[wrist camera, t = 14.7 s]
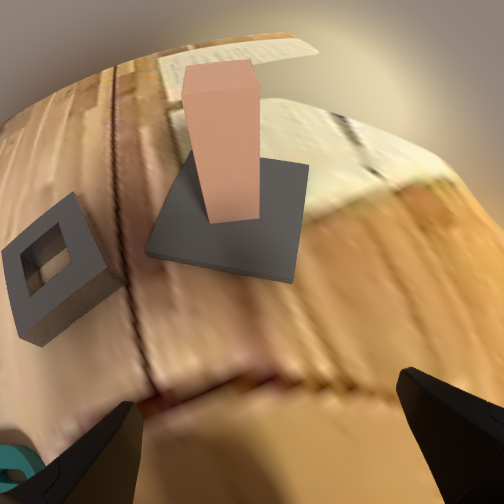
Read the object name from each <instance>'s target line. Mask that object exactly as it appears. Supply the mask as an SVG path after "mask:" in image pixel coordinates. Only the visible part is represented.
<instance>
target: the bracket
mask: <svg viewBox="0 0 504 504" xmlns="http://www.w3.org/2000/svg"><path fill="white" fill-rule="evenodd" d="M45 467H46V466H45V464H44V463H43V461H42V460H41V459H40V458H39V456H38V455H37V454H36V453H35V452H34V451H32V450H31V449H30V448H28V447H26V446H23V445H0V493H2V492H6V491H9V490H10V489H12V488H14V487H16V486H17V485H19V484H20V483H22V482H16V481H11V480H10V479H9V478H8V476H7V474H6V469H20V470H21V471H23V472H24V474H25V475H26V477H27V479H29V478H30V477H32V476H33V475H35V474H36V473H38V472H39V471H41V470H42V469H43V468H45Z"/></svg>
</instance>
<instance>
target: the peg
mask: <svg viewBox="0 0 504 504" xmlns="http://www.w3.org/2000/svg"><path fill="white" fill-rule="evenodd" d="M181 97H182V102H183V107H184V112H185V117H186V121H187V126H188V131H189V135H190V140H191V145H192V149H193V154H194V158H195V163H196V167H197V171H198V176H199V180H200V184H201V189H202V193H203V197H204V201H205V206H206V210H207V214H208V218H209V222H210V224H213V223H222V222H231V221H240V220H249V219H259V198H260V86H259V83H258V80H257V77H256V74H255V71H254V68H253V65H252V62H251V59H249V60H235V61H224V62H214V63H206V64H199V65H192V66H186V70H185V75H184V81H183V87H182V94H181Z"/></svg>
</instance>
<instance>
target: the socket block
mask: <svg viewBox="0 0 504 504" xmlns="http://www.w3.org/2000/svg"><path fill="white" fill-rule="evenodd" d="M66 247H67V249H68V252H69V254H70V257H71V260H72V262H73V263H71V264H70V265H69V266H67V267H66V268H65V269H64V270H62V271H61V272H60V273H59V274H57V275H56V276H55V277H54V278H53V279H51V280H50V281H49V282H48V283H46V284H45V285H44V286H43V284H42V281H41V277H40V274H39V269H40V268H41V267H42V266H43V265H45V264H46V263H47V262H48V261H49V260H51V259H52V258H53V257H54V256H55V255H57V254H58V253H59V252H60V251H62V250H63V249H64V248H66ZM1 253H2V260H3V267H4V274H5V280H6V285H7V290H8V295H9V300H10V305H11V309H12V313H13V317H14V321H15V325H16V329H17V332H18V336H19V338H21V339H23V340H25V341H28V342H30V343H32V344H35V345H37V346H40V347H43V346H44V345H46V344H47V343H48V342H49V341H51V340H52V339H53V338H54V337H56V336H57V335H58V334H59V333H61V332H62V331H63V330H65V329H66V328H67V327H68V326H70V325H71V324H72V323H74V322H75V321H76V320H77V319H79V318H80V317H81V316H83V315H84V314H85V313H87V312H88V311H89V310H91V309H92V308H93V307H94V306H96V305H97V304H98V303H100V302H101V301H102V300H104V299H105V298H107V297H108V296H109V295H111V294H112V293H113V292H115V291H116V290H117V289H119V288H120V287H121V286H123V285H124V283H123V281H122V279H121V278H120V276H119V274H118V272H117V270H116V268H115V267H114V265H113V263H112V261H111V259H110V257H109V255H108V253H107V251H106V249H105V247H104V245H103V243H102V241H101V239H100V237H99V235H98V233H97V231H96V229H95V227H94V224H93V222H92V220H91V218H90V216H89V214H88V211H87V210H86V208H85V207H84V206H83V204H82V203H81V201H80V200H79V199H78V197H77V196H76V194H75V193H74V191H73V192H72V193H70V194H69V195H67V196H66V197H65V198H63V199H62V200H61V201H59V202H58V203H57V204H56V205H54V206H53V207H52V208H50V209H49V210H48V211H47V212H45V213H44V214H43V215H42V216H40V217H39V218H38V219H37V220H36V221H34V222H33V223H32V224H31V225H30V226H29V227H27V228H26V229H25V230H24V231H23V232H22V233H21V234H19V235H18V236H17V237H16V238H15V239H14V240H13V241H12V242H11V243H9V244H8V245H7V246H6V247H5V248H4V249H3V250H2V251H1Z"/></svg>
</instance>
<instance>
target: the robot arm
mask: <svg viewBox="0 0 504 504" xmlns="http://www.w3.org/2000/svg"><path fill="white" fill-rule="evenodd" d="M396 392H397V395H398V397H399V400H400V403H401V405H402V408H403V411H404V413H405V416H406V419H407V422H408V424H409V427H410V429H411V431H412V433H413V435H414V437H415V439H416V441H417V443H418V445H419V447H420V449H421V451H422V453H423V456H424V458H425V460H426V462H427V464H428V466H429V468H430V471H431V473H432V475H433V477H434V479H435V482H436V484H437V486H438V488H439V491H440V493H441V495H442V498H443V500H444V502H445V504H504V408H503V407H500V406H498V405H495V404H493V403H490V402H487V401H486V400H483V399H481V398H479V397H477V396H474V395H472V394H470V393H468V392H465V391H463V390H461V389H459V388H457V387H454V386H452V385H450V384H448V383H446V382H444V381H441V380H439V379H437V378H435V377H433V376H431V375H428V374H426V373H424V372H422V371H420V370H418V369H416V368H414V367H408V368H405V369H402V370H401V371H400V374H399V378H398V381H397V385H396ZM142 433H143V417H142V415H141V413H140V411H139V409H138V407H137V405H136V403H135V402H133V401H123V402H121V403H120V404H119V405H118V406H117V407H116V408H114V409H113V410H112V411H111V412H110V413H109V414H108V415H106V416H105V417H104V418H103V419H102V420H101V421H99V422H98V423H97V424H96V425H95V426H94V427H93V428H91V429H90V430H89V431H88V432H87V433H86V434H84V435H83V436H82V437H81V438H80V439H78V440H77V441H76V442H75V443H74V444H73V445H71V446H70V447H69V448H68V449H67V450H65V451H64V452H63V453H62V454H61V455H60V456H59V457H57V458H56V459H55V460H53V461H52V462H51V463H50V464H48V465H47V466H46V467H45V468H43V469H42V470H41V471H39V472H38V473H36V474H35V475H33V476H32V477H30V478H29V479H27V480H25V481H24V482H22V483H20V484H19V485H17V486H16V487H14V488H12V489H10V490H9V491H6V492H2V493H0V504H133V498H134V492H135V486H136V481H137V475H138V470H139V465H140V458H141V446H142Z"/></svg>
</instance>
